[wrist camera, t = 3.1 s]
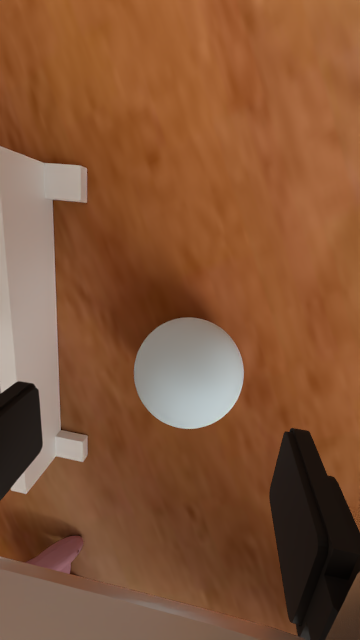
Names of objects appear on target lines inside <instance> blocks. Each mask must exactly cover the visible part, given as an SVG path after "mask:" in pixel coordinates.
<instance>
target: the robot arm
mask: <svg viewBox="0 0 360 640" xmlns="http://www.w3.org/2000/svg"><path fill="white" fill-rule="evenodd" d="M42 446H43V439H42V426H41V413H40V399H39V390H38V389H37V388H36V386H35V385H34V384H33V383H27V382H22V381H18V382H16V383H14V384H13V385H12V386H10V387H9V388H8V389H6V390H5V391H4V392H2V393H1V394H0V500H1V499H2V498H3V497H4V496H5V494H6V493H7V492H8V491H9V490H10V488H11V487H12V486H13V485H14V483H15V482H16V481H17V480H18V479H19V477H20V476H21V475H22V474H23V473H24V471H25V470H26V469H27V468H28V467H29V465H30V464H31V463H32V462H33V461H34V459H35V458H36V457H37V456H38V455H39V453H40V451H41V449H42ZM269 496H270V505H271V511H272V518H273V524H274V530H275V536H276V543H277V549H278V555H279V561H280V568H281V574H282V580H283V586H284V593H285V599H286V605H287V612H288V617H289V620H290V622H291V623H295V624H296V628H297V633H298V636H296V635H293V634H290V633H287V632H284V631H281V630H278V629H275V628H272V627H269V626H265V625H262V624H258V623H255V622H251V621H247V620H244V619H240V618H237V617H233V616H230V615H226V614H222V613H219V612H215V611H212V610H208V609H204V608H200V607H197V606H193V605H189V604H185V603H181V602H177V601H173V600H169V599H166V598H162V597H158V596H154V595H150V594H146V593H142V592H139V591H135V590H131V589H127V588H123V587H119V586H115V585H111V584H107V583H103V582H99V581H95V580H91V579H87V578H84V577H80V576H76V575H72V574H68V573H64V572H60V571H56V570H52V569H48V568H44V567H40V566H36V565H32V564H28V563H24V562H20V561H16V560H12V559H7V558H3V557H0V640H360V532H359V530H358V528H357V525H356V523H355V521H354V519H353V516H352V514H351V512H350V509H349V507H348V505H347V503H346V500H345V498H344V496H343V493H342V491H341V489H340V487H339V484H338V482H337V481H336V479H335V478H334V477H332V476H327V473H326V471H325V468H324V466H323V463H322V461H321V459H320V456H319V454H318V451H317V449H316V446H315V444H314V441H313V439H312V437H311V434H310V432H309V431H306V430H300V429H294V428H291V429H290V432H285V433H284V435H283V439H282V443H281V447H280V451H279V455H278V459H277V463H276V467H275V471H274V475H273V479H272V483H271V487H270V495H269Z"/></svg>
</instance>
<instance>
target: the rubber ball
mask: <svg viewBox="0 0 360 640" xmlns="http://www.w3.org/2000/svg"><path fill="white" fill-rule="evenodd" d="M243 378H244V368H243V362H242V358H241V355H240V352H239V350H238V348H237V346H236V344H235V343H234V341H233V340H232V338H231V337H230V336H229V335H228V334H227V333H226V332H225V331H224V330H223V329H222V328H220V327H219V326H217V325H216V324H214V323H211V322H209V321H207V320H204V319H199V318H192V317H185V318H178V319H174V320H171V321H168V322H166V323H164V324H162V325H160V326H159V327H157V328H156V329H155V330H153V331H152V332H151V333H150V334H149V335H148V336H147V337H146V339H145V340H144V342H143V343H142V345H141V347H140V349H139V351H138V353H137V357H136V360H135V366H134V380H135V386H136V389H137V392H138V395H139V397H140V399H141V401H142V403H143V404H144V406H145V407H146V408H147V409H148V411H149V412H150V413H151V414H152V415H153V416H155V417H156V418H157V419H159V420H160V421H162V422H164V423H166V424H168V425H170V426H173V427H177V428H183V429H195V428H201V427H205V426H208V425H211V424H213V423H215V422H216V421H218V420H219V419H221V418H222V417H224V416H225V415H226V414H227V413H228V412H229V411H230V410H231V408H232V407H233V406H234V404H235V403H236V401H237V399H238V397H239V395H240V392H241V389H242V385H243Z"/></svg>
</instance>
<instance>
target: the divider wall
mask: <svg viewBox="0 0 360 640" xmlns="http://www.w3.org/2000/svg"><path fill="white" fill-rule="evenodd" d="M53 200H60V201H71V202H82V203H87V168H85V167H83V166H81V165H68V164H54V163H43V162H40V161H38V160H35V159H33V158H30V157H27V156H25V155H22V154H20V153H17V152H14V151H12V150H9V149H7V148H4V147H2V146H0V390H1V393H2V392H4V391H5V390H6V389H8V388H9V387H10V386H12V385H13V384H14V383H16V382H18V381H22V382H27V383H33V384H34V385H35V386H36V388H37V389H38V390H39V399H40V413H41V426H42V439H43V446H42V449H41V451H40V453H39V455H38V456H37V457H36V458H35V459H34V461H33V462H32V463H31V464H30V465H29V467H28V468H27V469H26V470H25V471H24V473H23V474H22V475H21V476H20V477H19V479H18V480H17V481H16V482H15V483H14V485H13V486H12V487H11V491H16V492H20V493H24V494H27V493H28V491H29V490H30V489H31V488H32V486H33V485H34V484H35V482H36V481H37V480H38V479H39V477H40V476H41V475H42V474H43V472H44V471H45V470H46V469H47V467H48V466H49V465H50V463H51V462H52V461H53V460H54V458H55V457H56V456H58V457H62V458H67V459H71V460H76V461H80V462H84V460H85V458H86V457H87V455H88V436H87V435H83V434H78V433H73V432H68V431H63V430H61V420H60V392H59V364H58V336H57V308H56V280H55V252H54V224H53Z"/></svg>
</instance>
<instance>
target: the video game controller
mask: <svg viewBox="0 0 360 640" xmlns="http://www.w3.org/2000/svg"><path fill="white" fill-rule="evenodd" d="M82 546H83V539H82V537H81V536H70V537H67V538H64V539H62V540H60V541H58V542H56V543H54V544H53V545H51V546H50V547H48V548H47V549H45V550H44V551H43V552H42V553H40V554H39V555H38V556H37V557H35V558H34V559H30V560H28V561H27V562H25V563H28V564H32V565H36V566H40V567H44V568H48V569H52V570H56V571H60V572H64V573H68V574H70V570H71V562H72V561H73V560H74V559H75V557H76V556H77V555H78V554H79V552H80V551H81V549H82Z"/></svg>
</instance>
